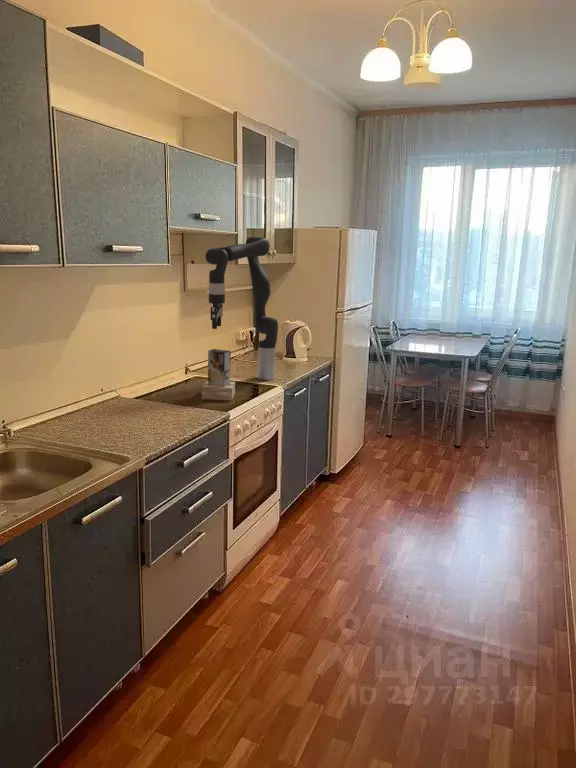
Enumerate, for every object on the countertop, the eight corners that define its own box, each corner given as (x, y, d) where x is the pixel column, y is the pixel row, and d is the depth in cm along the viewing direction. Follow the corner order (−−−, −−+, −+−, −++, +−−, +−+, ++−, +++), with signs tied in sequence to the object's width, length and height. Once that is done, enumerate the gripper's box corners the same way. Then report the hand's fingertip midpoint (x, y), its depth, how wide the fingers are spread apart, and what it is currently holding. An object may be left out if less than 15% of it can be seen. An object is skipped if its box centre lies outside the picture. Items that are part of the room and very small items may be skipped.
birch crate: (206, 392, 275) (206, 380, 274) (234, 393, 275) (235, 381, 274) (201, 400, 262) (201, 387, 260) (231, 401, 262) (232, 388, 260)
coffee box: (230, 384, 269) (231, 350, 265) (224, 386, 263) (225, 352, 259) (213, 381, 272) (214, 348, 268) (207, 384, 266) (207, 350, 263)
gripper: (212, 291, 270) (212, 324, 274) (205, 294, 257) (205, 329, 261) (227, 291, 270) (227, 325, 274) (221, 294, 256) (221, 330, 260)
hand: (216, 327), depth 267 cm, fingers open, 8 cm apart
